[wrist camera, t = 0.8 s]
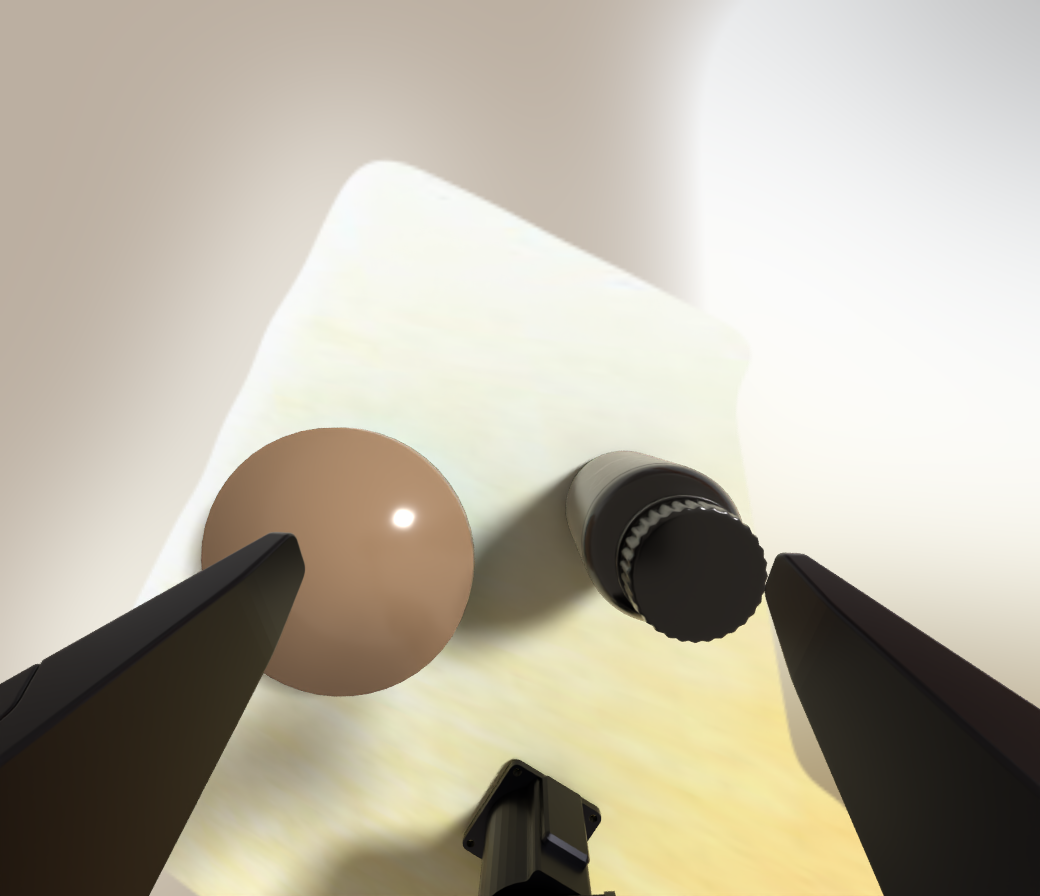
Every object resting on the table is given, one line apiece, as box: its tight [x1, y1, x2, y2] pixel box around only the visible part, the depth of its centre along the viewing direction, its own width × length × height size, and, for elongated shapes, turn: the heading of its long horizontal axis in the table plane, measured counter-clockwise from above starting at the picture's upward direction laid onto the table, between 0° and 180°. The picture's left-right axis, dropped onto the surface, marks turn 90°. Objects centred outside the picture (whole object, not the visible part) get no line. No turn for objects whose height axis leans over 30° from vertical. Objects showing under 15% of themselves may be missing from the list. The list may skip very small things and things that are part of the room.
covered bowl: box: [201, 428, 475, 696], centre depth 25 cm, size 14×14×4 cm
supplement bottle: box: [566, 451, 768, 643], centre depth 21 cm, size 7×7×12 cm
